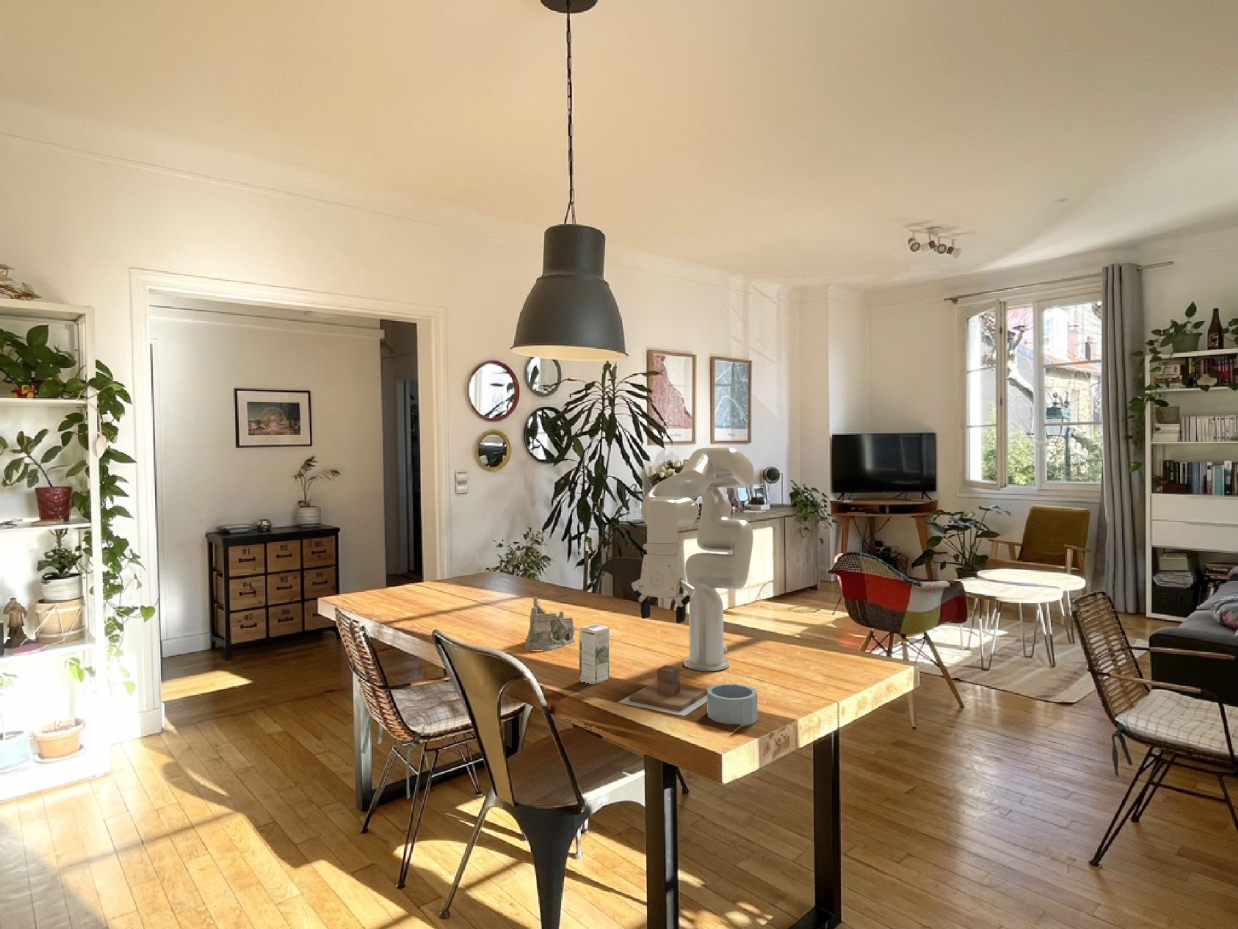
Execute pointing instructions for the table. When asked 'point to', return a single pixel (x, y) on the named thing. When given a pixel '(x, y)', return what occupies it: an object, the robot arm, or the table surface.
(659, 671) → the walnut lid
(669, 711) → the grey mat
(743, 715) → the slate bowl
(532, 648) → the ceramic cottage
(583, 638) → the syrup box
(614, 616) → the table surface
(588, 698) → the table surface
